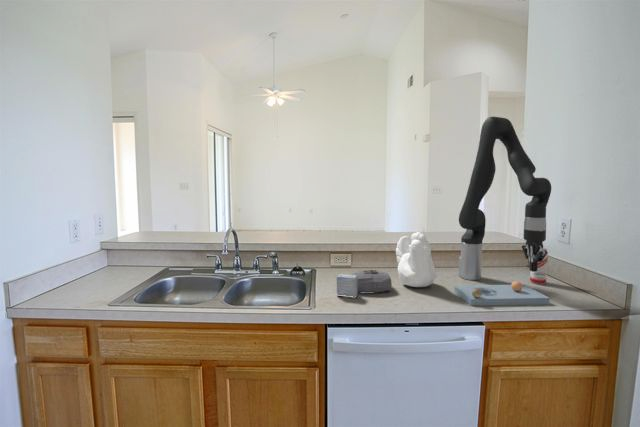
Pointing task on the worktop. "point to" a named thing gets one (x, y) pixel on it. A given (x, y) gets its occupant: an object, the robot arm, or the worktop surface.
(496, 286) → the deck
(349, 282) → the medicine box
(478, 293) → the cork ball
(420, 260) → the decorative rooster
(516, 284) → the ball
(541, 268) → the beer can
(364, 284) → the grey rounded bag
